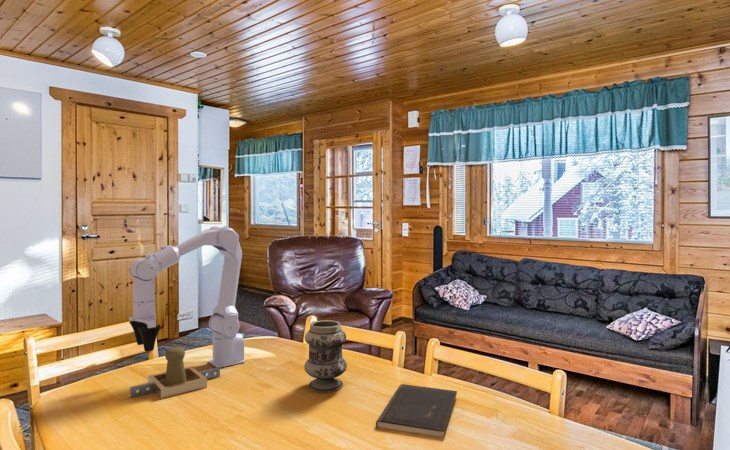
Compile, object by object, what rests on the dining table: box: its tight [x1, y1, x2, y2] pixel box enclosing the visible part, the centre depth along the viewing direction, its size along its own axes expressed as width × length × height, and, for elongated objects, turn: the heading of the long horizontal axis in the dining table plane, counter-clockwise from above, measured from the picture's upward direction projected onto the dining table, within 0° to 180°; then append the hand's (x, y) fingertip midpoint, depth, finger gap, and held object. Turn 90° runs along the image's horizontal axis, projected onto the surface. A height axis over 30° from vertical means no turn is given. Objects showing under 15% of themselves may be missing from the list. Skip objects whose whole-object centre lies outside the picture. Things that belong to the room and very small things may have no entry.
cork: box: [163, 346, 188, 387], centre depth 133 cm, size 6×6×11 cm
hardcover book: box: [375, 383, 458, 438], centre depth 118 cm, size 16×23×2 cm
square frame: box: [129, 366, 221, 400], centre depth 134 cm, size 24×12×2 cm, turn 129°
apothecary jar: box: [303, 319, 348, 393], centre depth 134 cm, size 12×12×18 cm
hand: (145, 347), depth 135 cm, fingers open, 7 cm apart
